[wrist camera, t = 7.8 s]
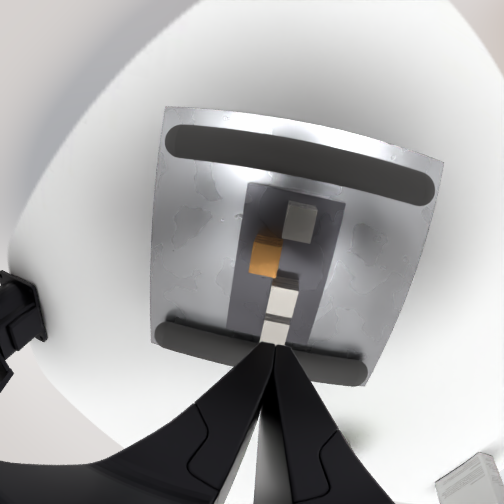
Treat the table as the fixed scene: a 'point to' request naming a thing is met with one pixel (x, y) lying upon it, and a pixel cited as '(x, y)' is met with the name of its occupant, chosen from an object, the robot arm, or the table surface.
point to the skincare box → (472, 483)
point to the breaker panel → (283, 245)
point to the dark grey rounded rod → (237, 349)
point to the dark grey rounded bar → (300, 161)
